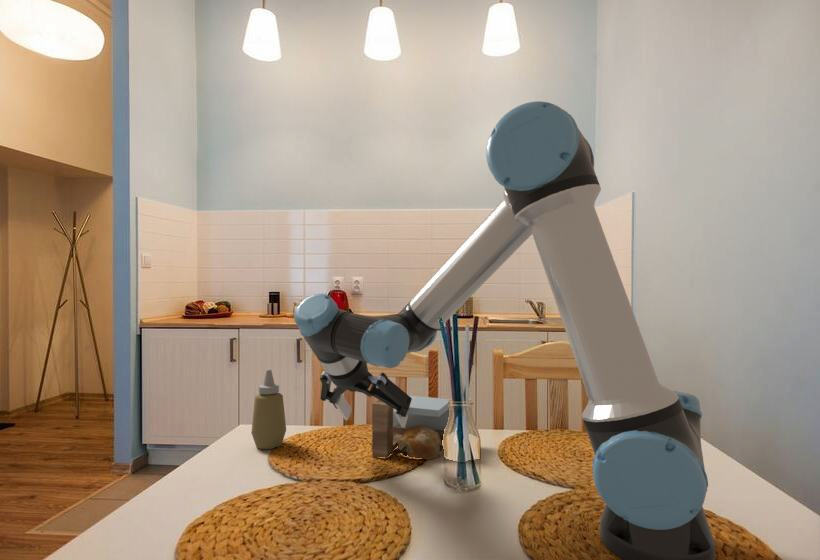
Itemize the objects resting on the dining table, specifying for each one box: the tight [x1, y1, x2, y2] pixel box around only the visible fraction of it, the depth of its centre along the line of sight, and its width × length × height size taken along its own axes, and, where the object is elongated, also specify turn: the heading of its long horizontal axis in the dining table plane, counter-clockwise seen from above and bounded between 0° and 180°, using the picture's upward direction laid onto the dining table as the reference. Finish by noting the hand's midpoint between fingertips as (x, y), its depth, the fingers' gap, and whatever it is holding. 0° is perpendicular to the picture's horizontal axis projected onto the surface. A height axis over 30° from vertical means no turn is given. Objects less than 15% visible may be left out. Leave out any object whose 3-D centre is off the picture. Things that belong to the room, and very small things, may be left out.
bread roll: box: [396, 426, 443, 461], centre depth 110 cm, size 10×10×8 cm
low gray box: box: [393, 394, 450, 431], centre depth 115 cm, size 10×16×10 cm, turn 68°
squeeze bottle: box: [251, 369, 287, 450], centre depth 115 cm, size 8×8×18 cm
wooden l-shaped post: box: [371, 399, 444, 458], centre depth 111 cm, size 14×15×12 cm
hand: (376, 418), depth 106 cm, fingers open, 13 cm apart
